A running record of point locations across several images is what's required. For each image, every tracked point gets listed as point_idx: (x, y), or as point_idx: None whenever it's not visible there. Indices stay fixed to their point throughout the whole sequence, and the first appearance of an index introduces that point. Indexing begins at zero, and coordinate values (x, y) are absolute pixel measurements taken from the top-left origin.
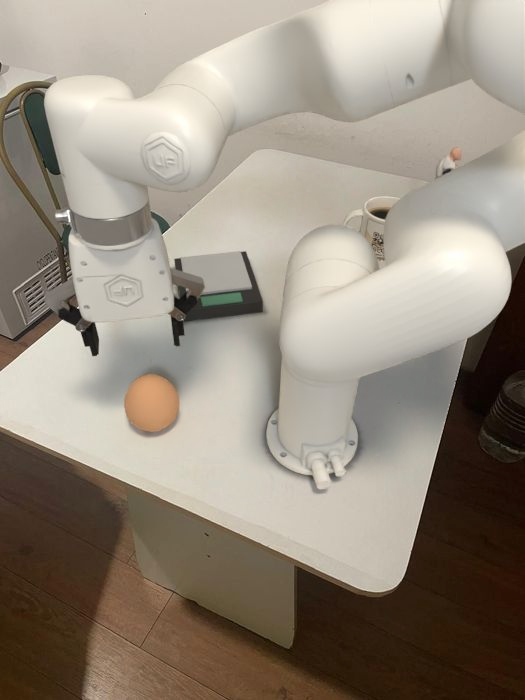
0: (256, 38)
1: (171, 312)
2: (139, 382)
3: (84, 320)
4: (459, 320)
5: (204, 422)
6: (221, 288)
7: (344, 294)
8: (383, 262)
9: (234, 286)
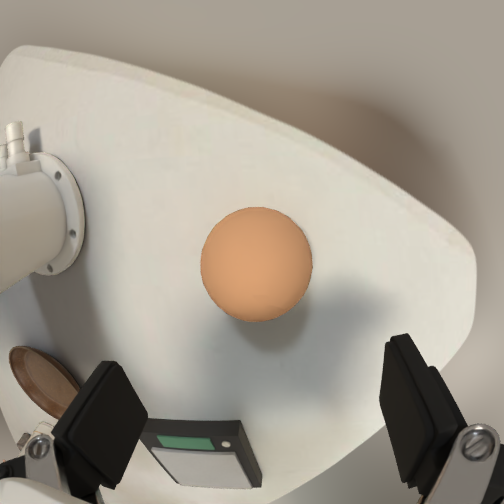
0: None
1: (46, 475)
2: (272, 293)
3: (469, 487)
4: None
5: (175, 241)
6: (188, 455)
7: None
8: (45, 432)
9: (172, 454)
